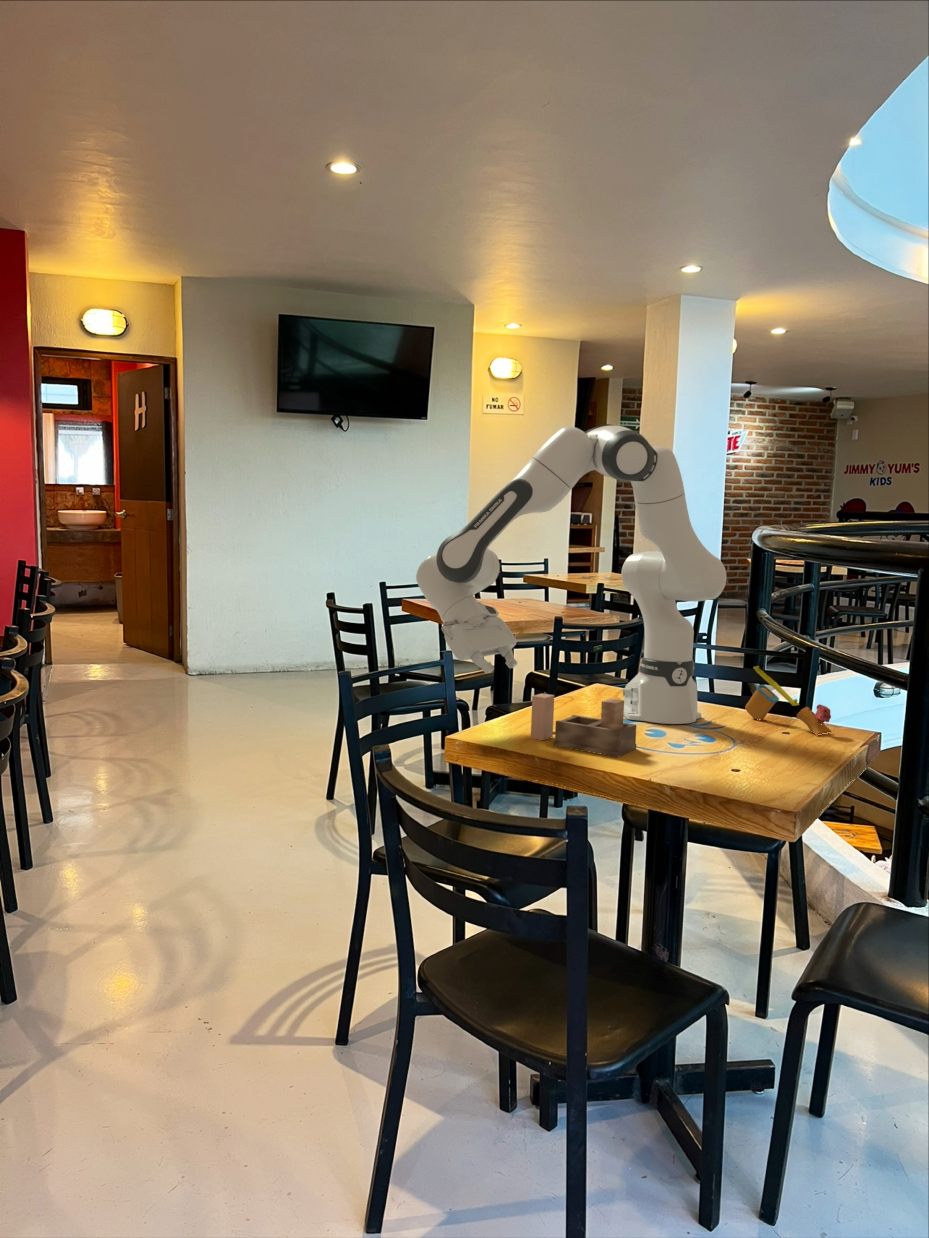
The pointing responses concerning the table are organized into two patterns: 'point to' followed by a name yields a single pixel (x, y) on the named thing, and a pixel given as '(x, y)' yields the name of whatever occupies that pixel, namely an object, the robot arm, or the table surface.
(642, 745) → the table surface
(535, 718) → the pink rectangular block
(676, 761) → the table surface
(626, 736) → the box
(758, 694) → the toy
